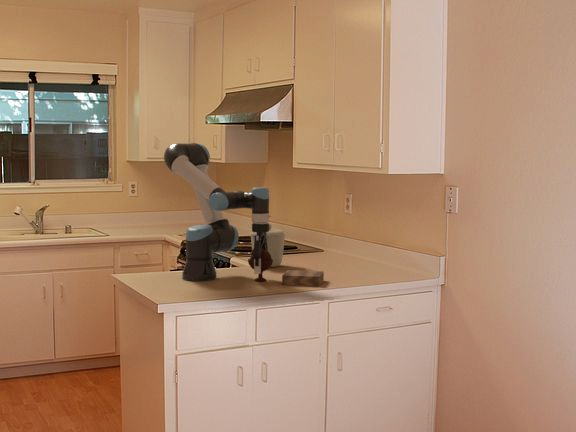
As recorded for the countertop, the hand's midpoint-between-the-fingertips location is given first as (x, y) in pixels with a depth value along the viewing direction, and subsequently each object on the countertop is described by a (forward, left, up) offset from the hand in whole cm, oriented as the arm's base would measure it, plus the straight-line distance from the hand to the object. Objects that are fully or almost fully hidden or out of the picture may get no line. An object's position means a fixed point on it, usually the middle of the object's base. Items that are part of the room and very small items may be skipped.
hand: (260, 271), depth 338 cm
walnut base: (+19, 0, -4) cm, 19 cm away
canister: (-5, +41, -5) cm, 42 cm away
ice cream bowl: (0, 0, -5) cm, 5 cm away
